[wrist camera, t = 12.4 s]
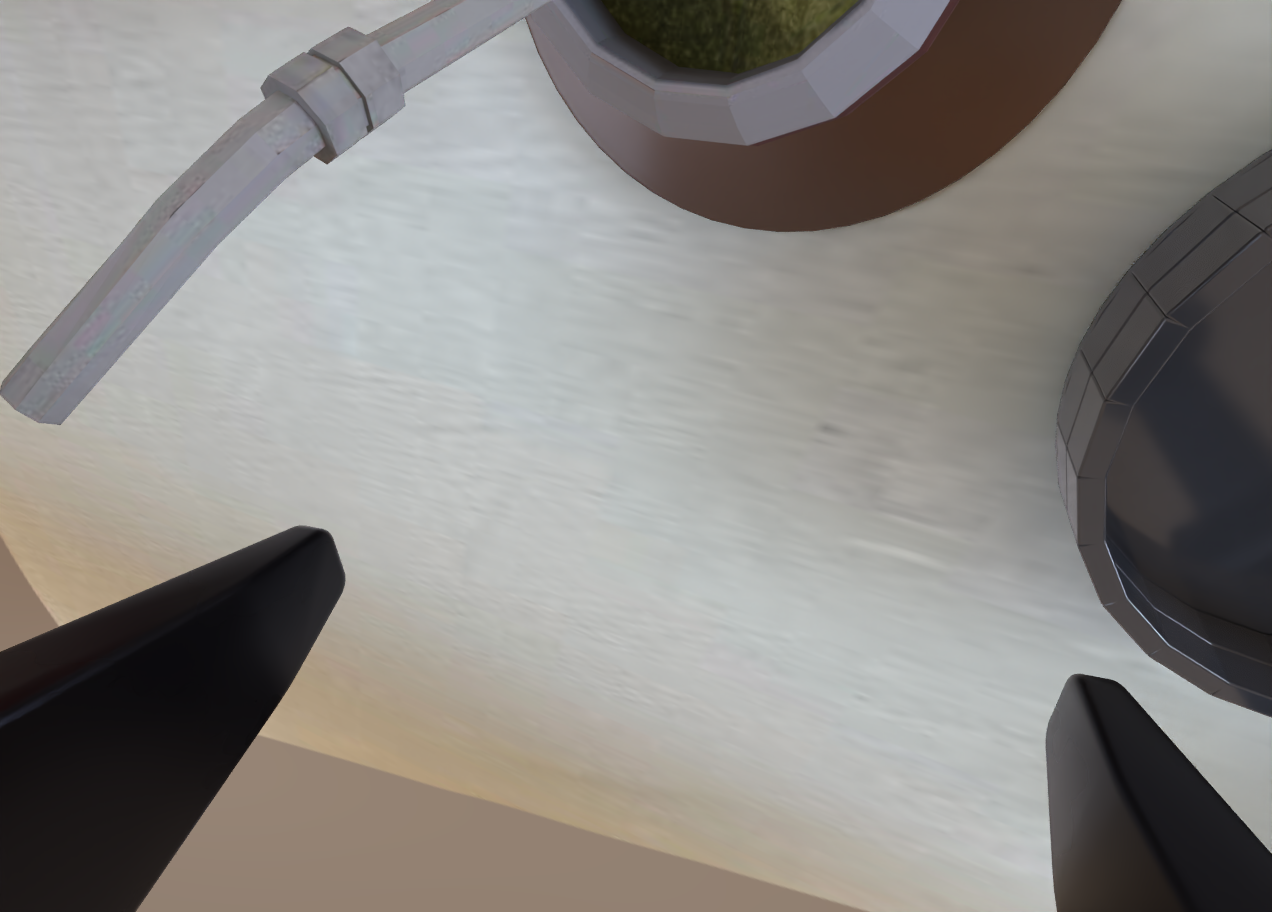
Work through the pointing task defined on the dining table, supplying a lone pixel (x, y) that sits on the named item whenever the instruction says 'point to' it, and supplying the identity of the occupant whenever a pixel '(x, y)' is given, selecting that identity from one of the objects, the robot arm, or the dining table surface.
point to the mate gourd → (433, 39)
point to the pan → (1183, 445)
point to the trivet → (864, 124)
